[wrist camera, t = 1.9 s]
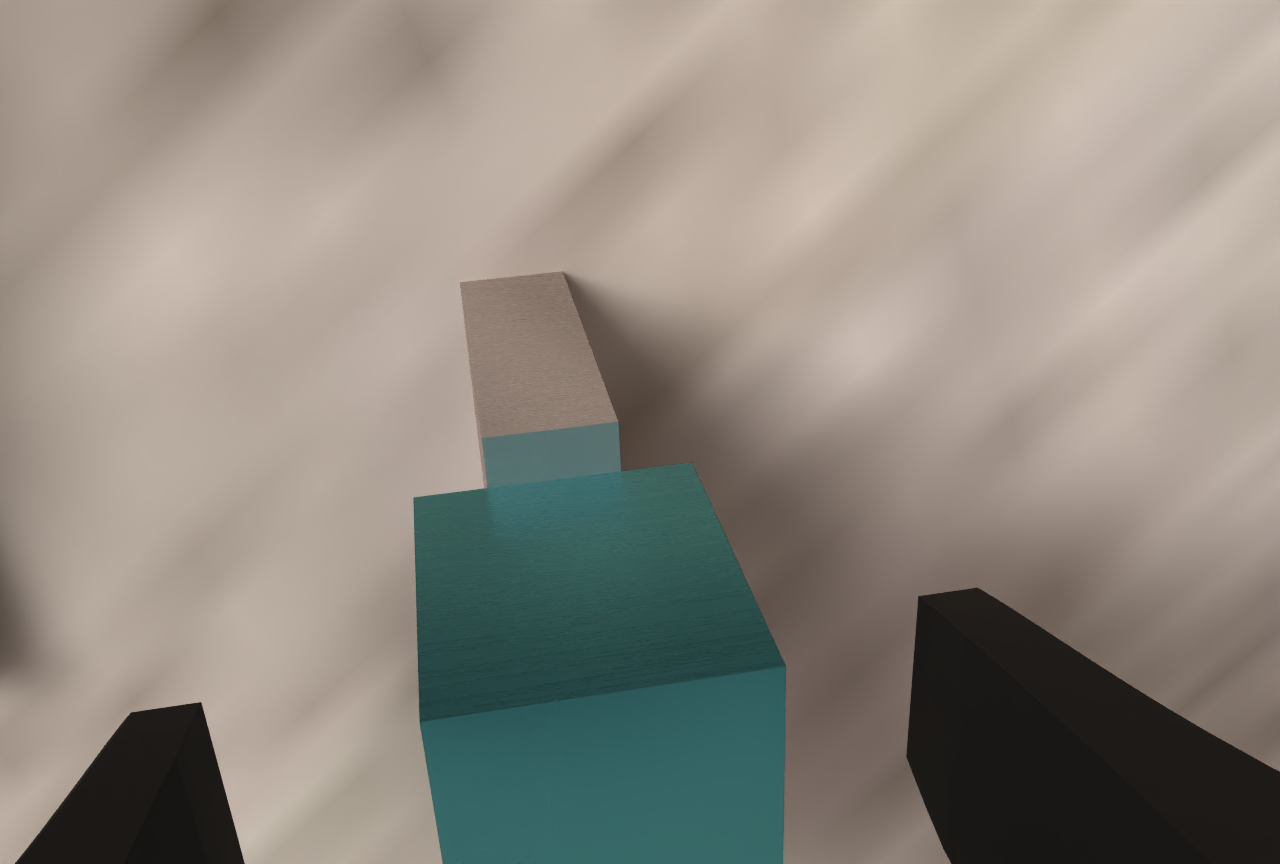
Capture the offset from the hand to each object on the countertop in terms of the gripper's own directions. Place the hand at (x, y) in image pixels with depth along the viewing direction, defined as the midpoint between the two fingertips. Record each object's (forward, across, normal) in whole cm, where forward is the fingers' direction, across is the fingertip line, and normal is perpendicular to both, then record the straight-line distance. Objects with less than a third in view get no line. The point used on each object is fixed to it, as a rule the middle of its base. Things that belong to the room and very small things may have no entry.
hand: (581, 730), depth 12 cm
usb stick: (+4, 0, 0) cm, 4 cm away
